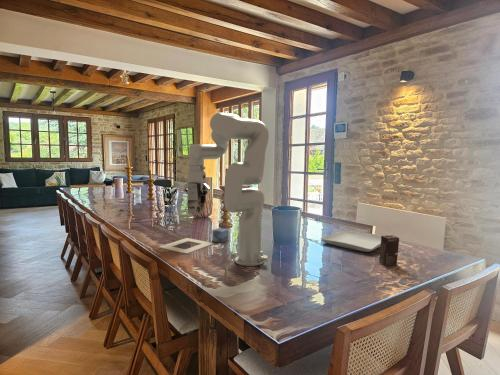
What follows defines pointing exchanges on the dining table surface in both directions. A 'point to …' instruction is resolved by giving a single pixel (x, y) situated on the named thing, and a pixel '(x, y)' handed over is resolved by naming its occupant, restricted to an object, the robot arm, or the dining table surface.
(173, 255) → the dining table surface
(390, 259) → the box
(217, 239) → the blue cube
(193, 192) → the coffee box
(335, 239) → the square plate
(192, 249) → the card
